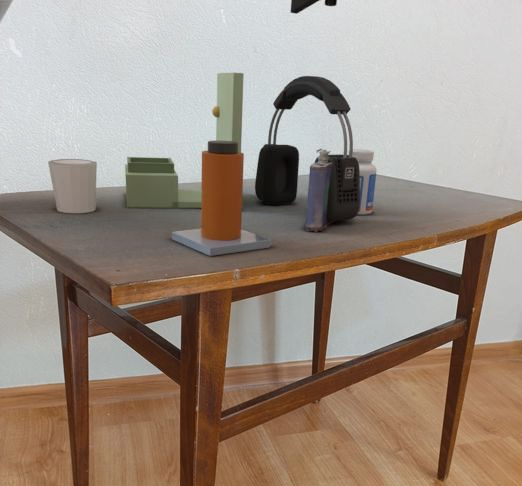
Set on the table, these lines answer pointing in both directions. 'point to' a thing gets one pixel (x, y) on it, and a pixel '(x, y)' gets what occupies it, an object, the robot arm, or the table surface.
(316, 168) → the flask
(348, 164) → the headphones
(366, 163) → the pill bottle
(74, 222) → the table surface
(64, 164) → the white cup
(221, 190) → the amber bottle
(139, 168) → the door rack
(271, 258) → the table surface
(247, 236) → the coaster
